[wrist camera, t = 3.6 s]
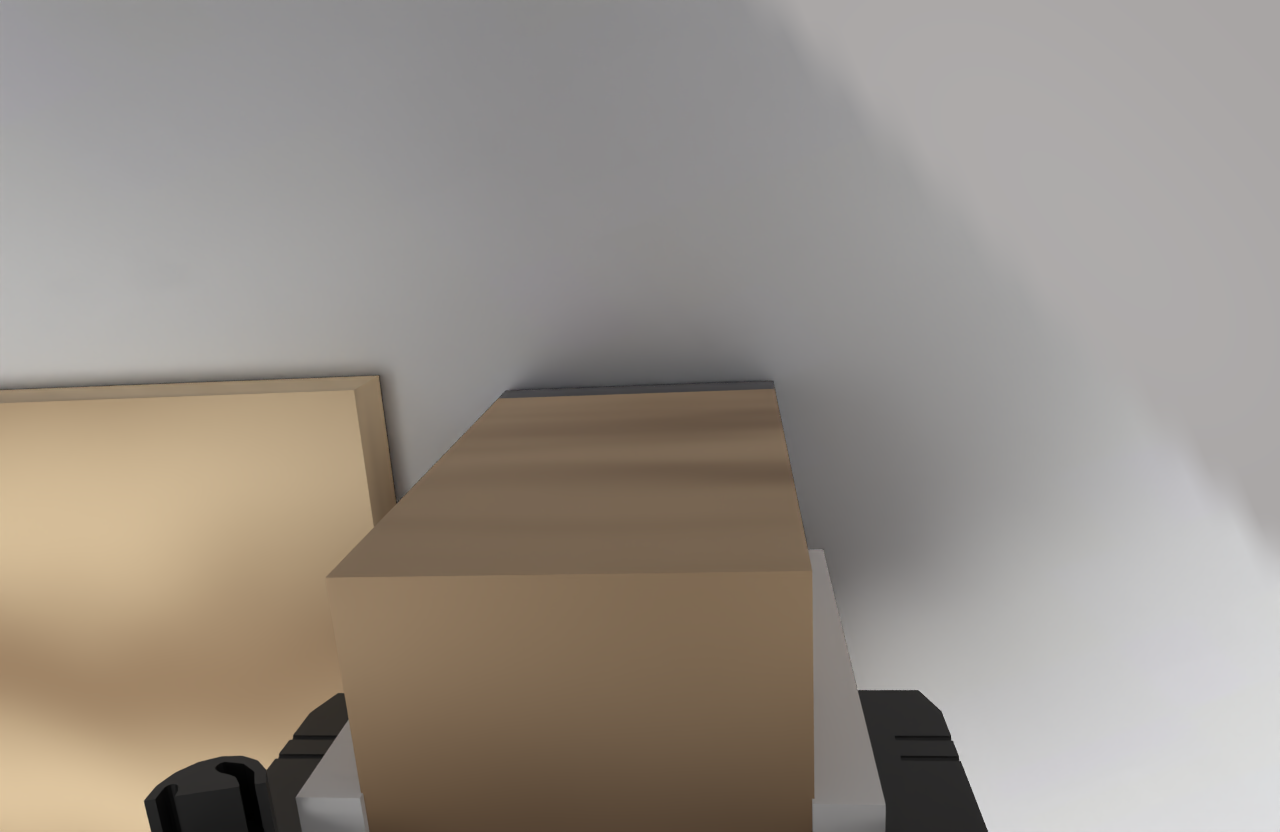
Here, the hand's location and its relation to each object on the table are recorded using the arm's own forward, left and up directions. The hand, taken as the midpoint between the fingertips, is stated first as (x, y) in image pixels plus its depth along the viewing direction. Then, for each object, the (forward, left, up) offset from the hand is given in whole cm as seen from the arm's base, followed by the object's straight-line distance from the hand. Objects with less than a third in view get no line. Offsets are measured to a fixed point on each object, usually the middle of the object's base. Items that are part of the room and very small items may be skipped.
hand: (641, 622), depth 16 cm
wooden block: (0, 0, -2) cm, 2 cm away
